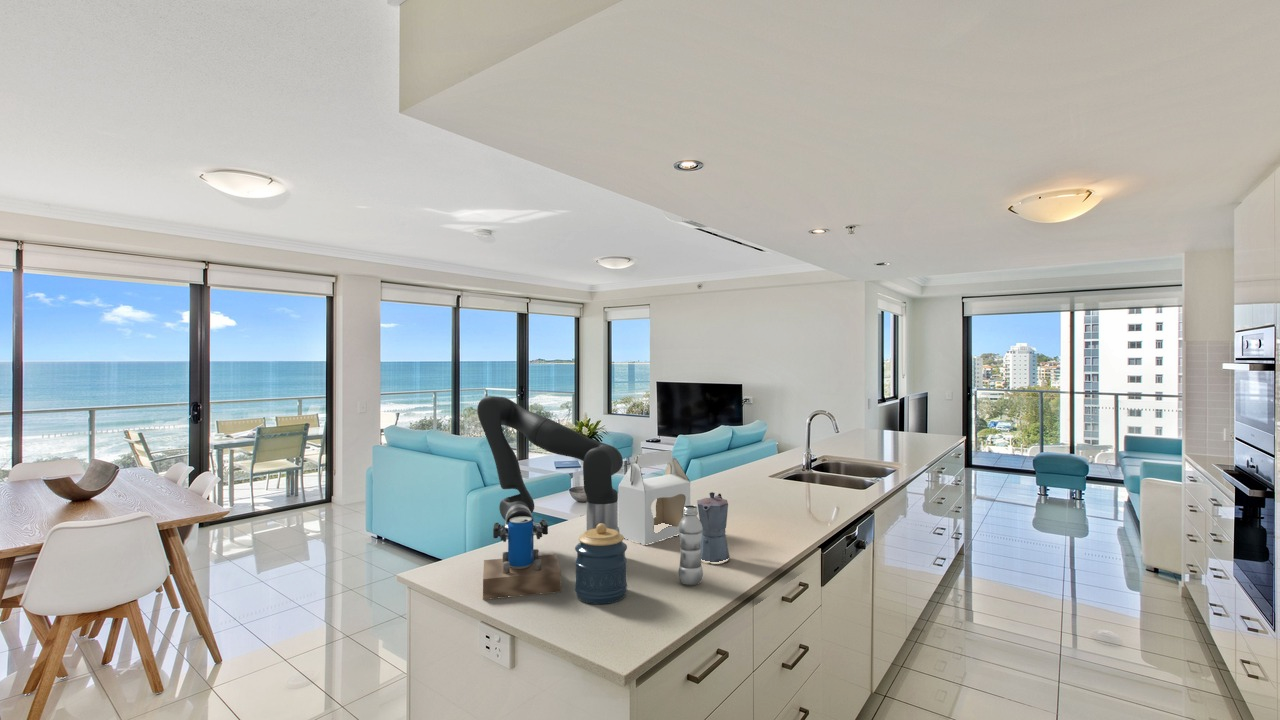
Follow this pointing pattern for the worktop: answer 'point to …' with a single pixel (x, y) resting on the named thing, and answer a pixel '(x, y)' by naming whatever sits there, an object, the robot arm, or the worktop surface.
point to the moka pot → (713, 528)
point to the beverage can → (520, 542)
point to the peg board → (521, 577)
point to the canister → (601, 566)
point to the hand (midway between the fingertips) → (521, 536)
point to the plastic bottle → (690, 547)
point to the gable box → (652, 498)
